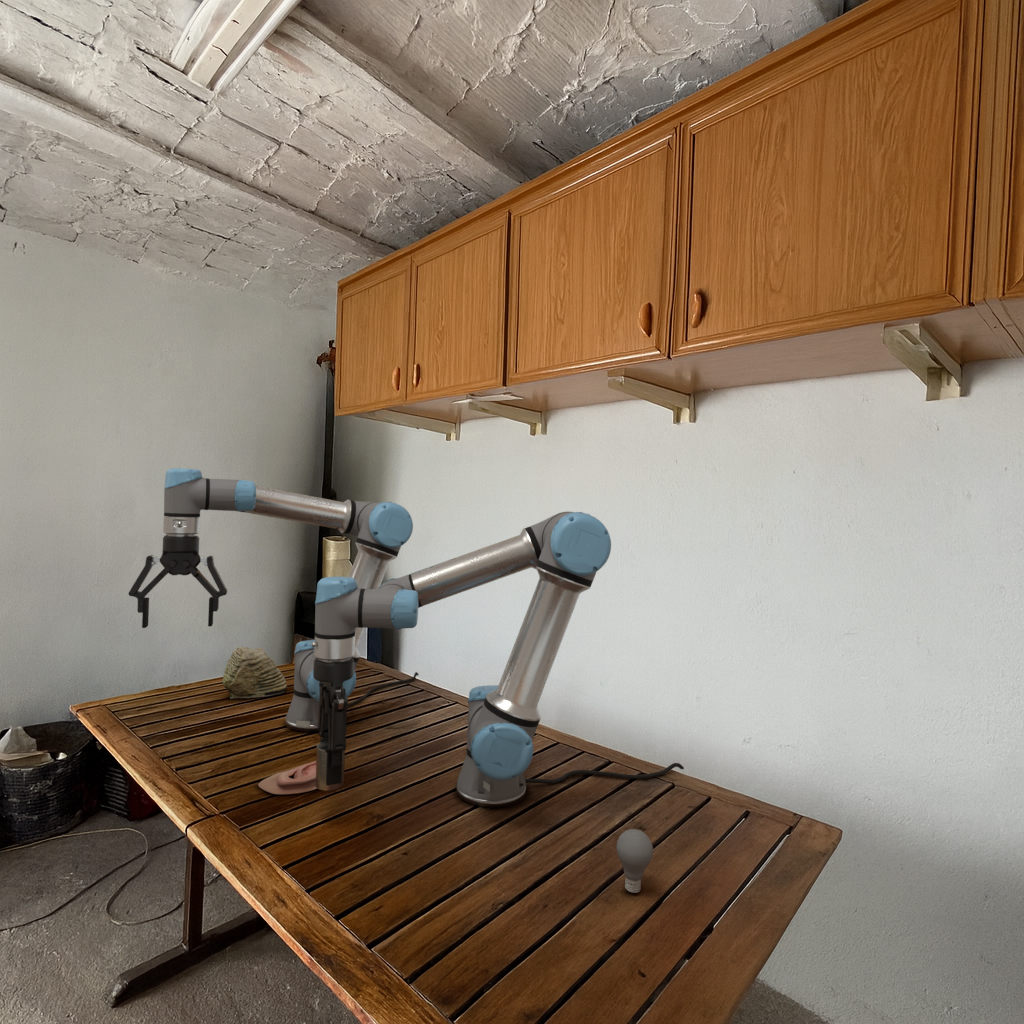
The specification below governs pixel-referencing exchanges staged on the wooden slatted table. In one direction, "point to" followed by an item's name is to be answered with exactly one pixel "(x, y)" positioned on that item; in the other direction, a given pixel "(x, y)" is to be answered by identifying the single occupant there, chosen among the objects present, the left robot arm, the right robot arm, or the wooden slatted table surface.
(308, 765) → the anatomical model
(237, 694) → the fossil
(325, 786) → the tin
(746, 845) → the wooden slatted table surface
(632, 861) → the light bulb
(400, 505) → the left robot arm
